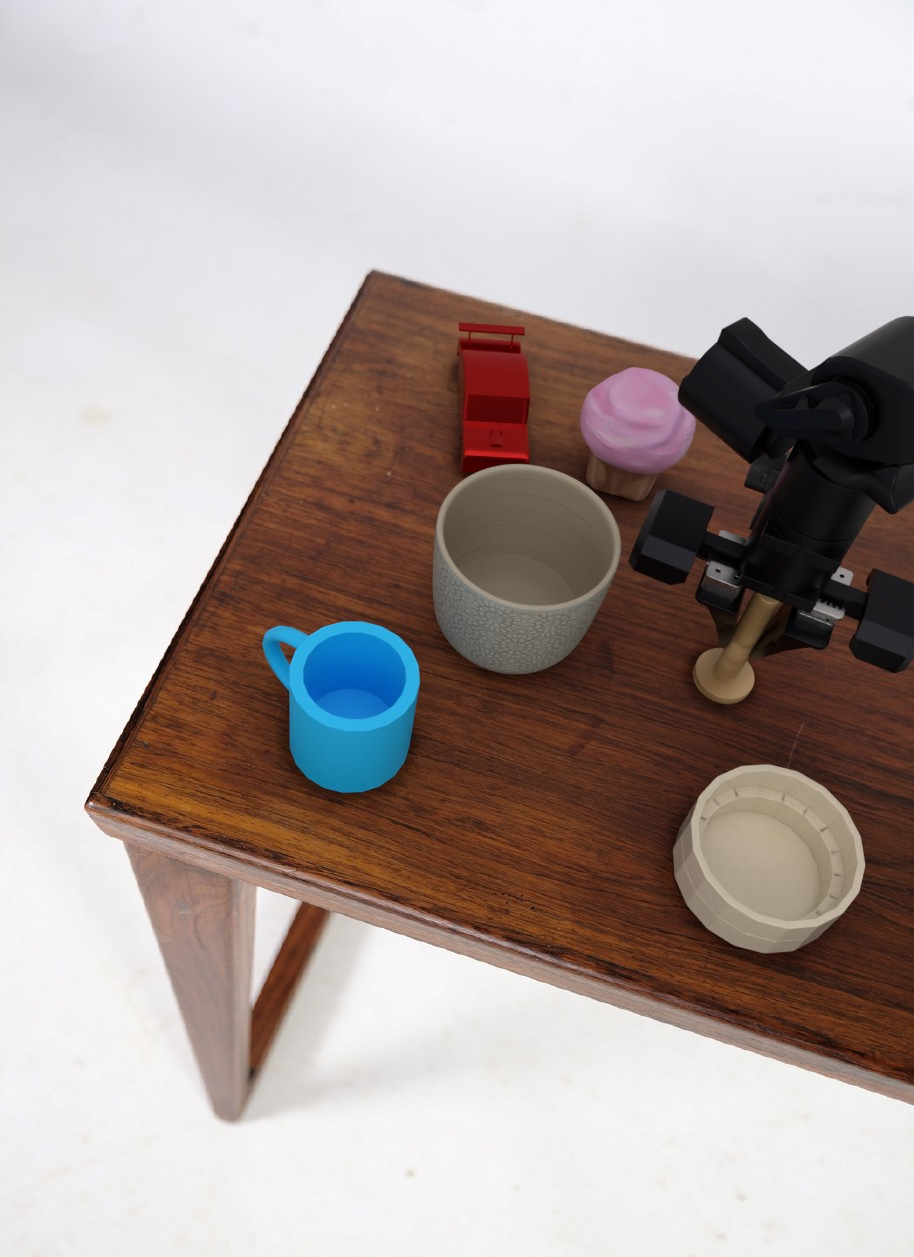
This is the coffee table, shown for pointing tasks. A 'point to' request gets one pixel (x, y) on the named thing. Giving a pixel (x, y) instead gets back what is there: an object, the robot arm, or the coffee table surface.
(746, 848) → the bowl
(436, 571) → the planter
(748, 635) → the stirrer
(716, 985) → the coffee table surface
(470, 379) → the toy car
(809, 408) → the robot arm
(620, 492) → the cupcake
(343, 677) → the mug
